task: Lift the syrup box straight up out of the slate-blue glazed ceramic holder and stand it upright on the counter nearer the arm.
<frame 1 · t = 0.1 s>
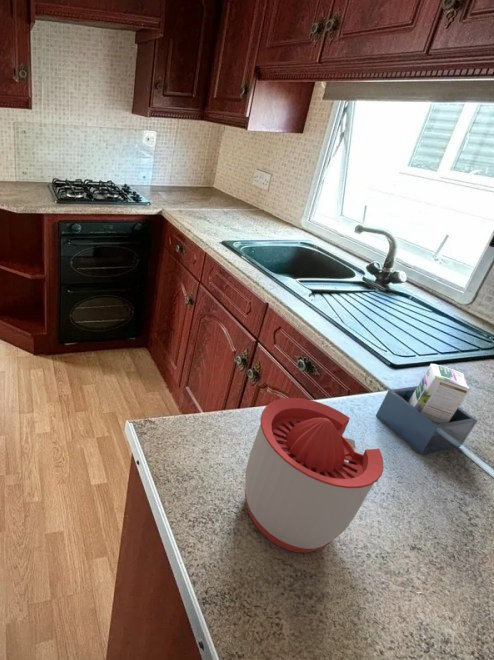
citrus juicer: (289, 515, 63), on the countertop
holder: (416, 430, 83), on the countertop
syrup box: (416, 431, 83), resting in holder
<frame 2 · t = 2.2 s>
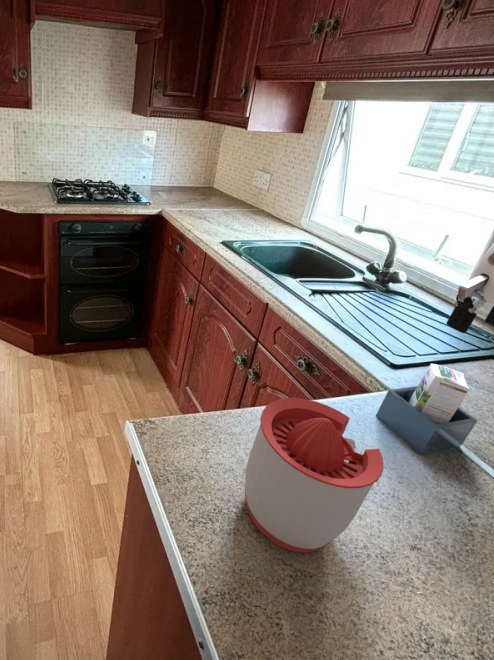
hand: (475, 327, 72), 25 cm above the countertop, tool pointing down, fingers open, 9 cm apart
nothing on the countertop moved.
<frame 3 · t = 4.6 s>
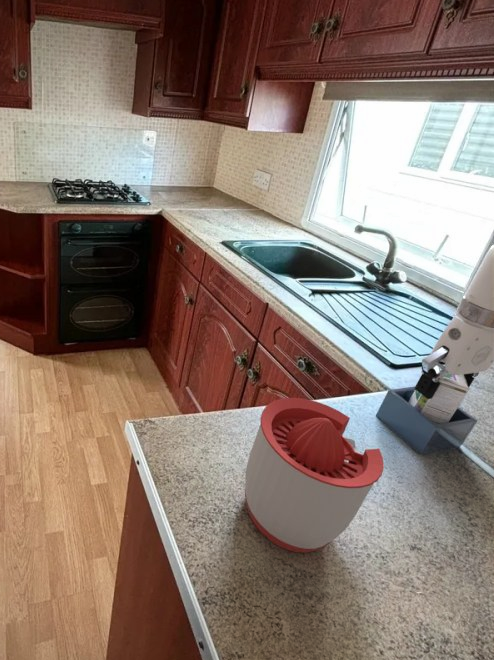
hand: (439, 391, 78), 10 cm above the countertop, tool pointing down, fingers closed on syrup box, 8 cm apart
syrup box: (416, 431, 83), resting in holder, touching gripper
everything else where it was.
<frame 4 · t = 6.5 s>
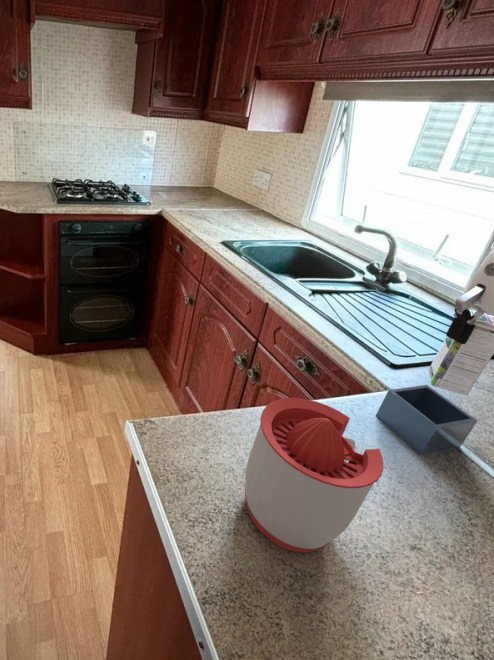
hand: (473, 337, 73), 23 cm above the countertop, tool pointing down, fingers closed on syrup box, 8 cm apart
syrup box: (446, 383, 77), point 12 cm above the countertop, touching gripper
everything else where it was.
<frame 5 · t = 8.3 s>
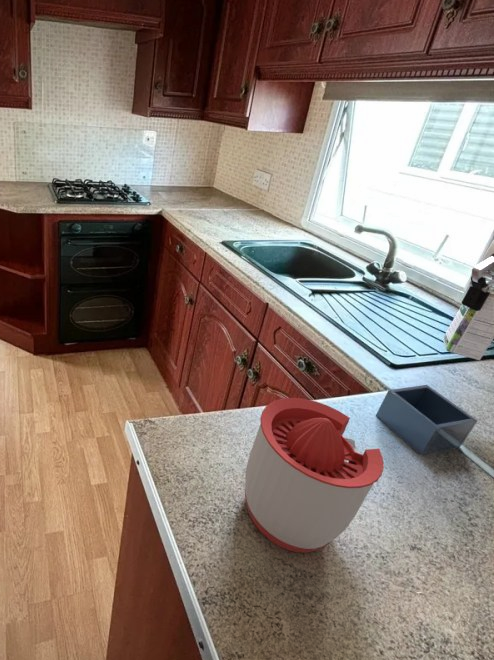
hand: (486, 305, 78), 26 cm above the countertop, tool pointing down, fingers closed on syrup box, 8 cm apart
syrup box: (460, 350, 83), point 15 cm above the countertop, touching gripper
everything else where it was.
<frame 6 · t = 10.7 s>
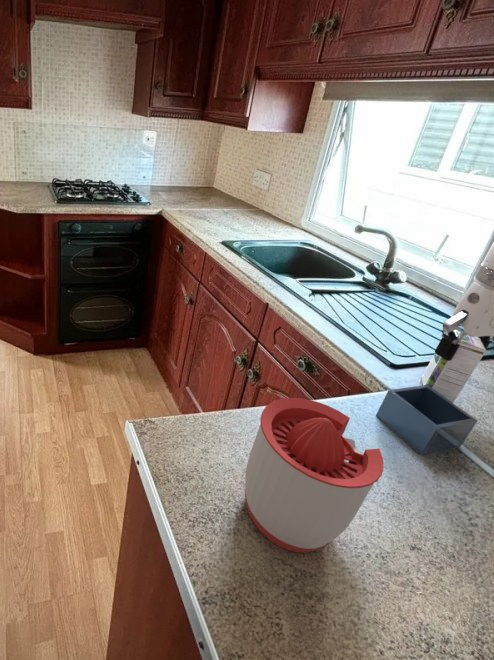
hand: (457, 354, 84), 14 cm above the countertop, tool pointing down, fingers closed on syrup box, 8 cm apart
syrup box: (434, 394, 89), point 3 cm above the countertop, touching gripper
everything else where it was.
when the fingers open (10 cm above the countertop, at t = 12.4 s): syrup box stays where it is, on the countertop.
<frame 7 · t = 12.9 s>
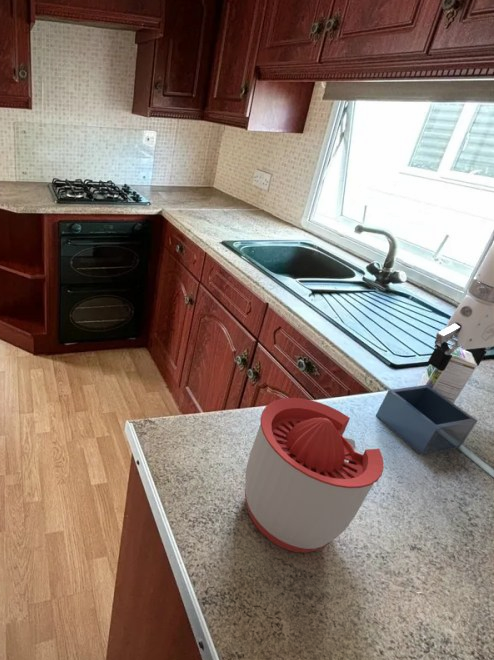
hand: (452, 364, 85), 12 cm above the countertop, tool pointing down, fingers open, 9 cm apart
syrup box: (427, 406, 90), on the countertop
everything else where it was.
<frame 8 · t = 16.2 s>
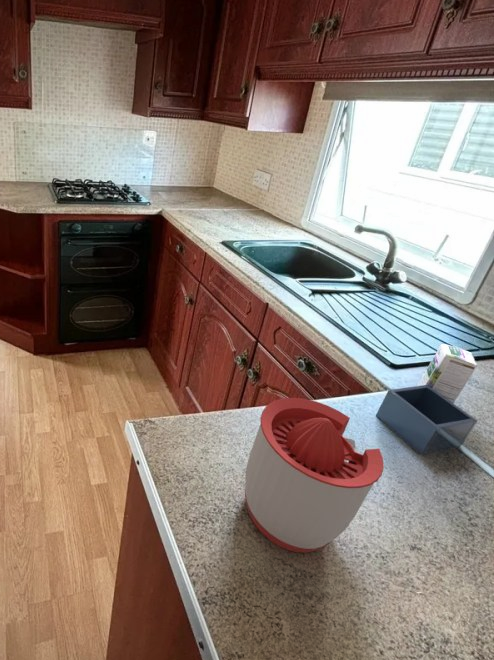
nothing on the countertop moved.
at the end: syrup box inside the target area (0.0 cm from its centre), on the countertop; syrup box tilted 0°; syrup box touching countertop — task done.
